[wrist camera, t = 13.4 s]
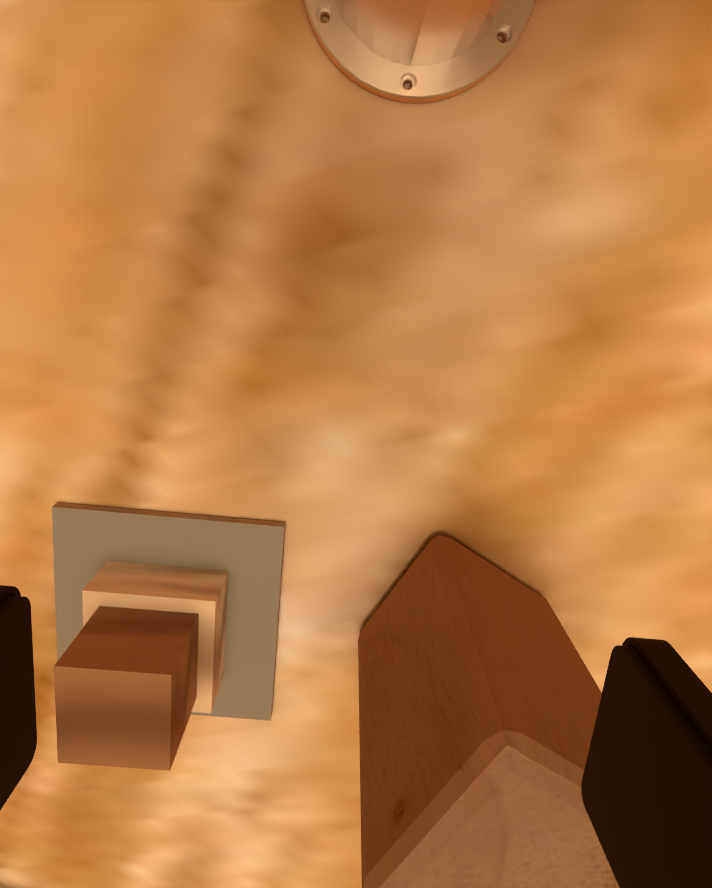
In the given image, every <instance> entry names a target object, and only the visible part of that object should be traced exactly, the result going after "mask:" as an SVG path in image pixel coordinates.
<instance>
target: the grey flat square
mask: <svg viewBox="0 0 712 888" xmlns="http://www.w3.org/2000/svg"><path fill="white" fill-rule="evenodd" d="M52 518H53V546H54V574H55V602H56V631H57V659H58V660H59V659H60V657H61V656H62V655H63V653H64V652H65V651H66V650H67V648H68V647H69V646H70V644H71V643H72V642H73V640H74V639H75V638H76V636H77V635H78V634H79V632H80V631H81V630H82V628H83V603H82V590H83V589H84V588H85V587H86V585H87V584H88V583H89V582H90V581H91V579H92V578H93V577H94V576H95V575H96V574H97V572H98V571H99V570H100V569H101V568H102V566H103V565H104V564H105V563H106V562H107V561H116V562H128V563H140V564H152V565H164V566H176V567H188V568H199V569H211V570H223V571H228V589H227V611H226V633H225V655H224V675H223V678H222V681H221V684H220V687H219V691H218V694H217V697H216V700H215V703H214V706H213V709H212V712H211V713H199V712H191V714H192V715H205V716H218V717H231V718H244V719H257V720H270V721H271V716H272V706H273V692H274V678H275V664H276V650H277V636H278V621H279V607H280V593H281V579H282V565H283V551H284V537H285V522H278V521H267V520H255V519H244V518H232V517H221V516H209V515H197V514H186V513H174V512H163V511H151V510H140V509H128V508H117V507H105V506H94V505H82V504H71V503H59V502H58V503H56V504H55V505H54V506H53V507H52Z"/></svg>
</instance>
